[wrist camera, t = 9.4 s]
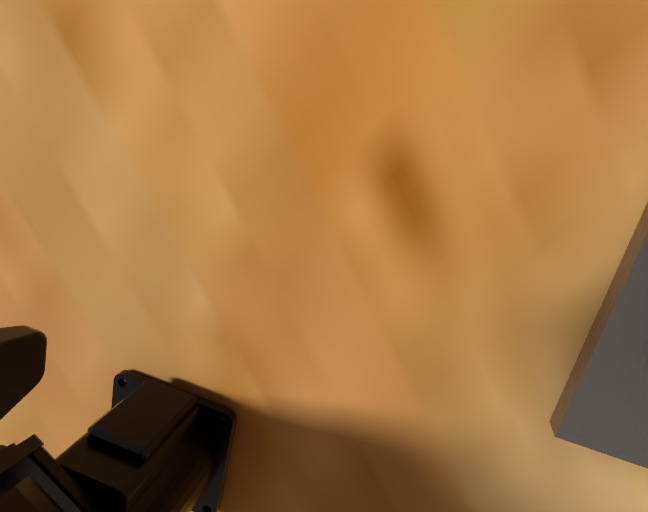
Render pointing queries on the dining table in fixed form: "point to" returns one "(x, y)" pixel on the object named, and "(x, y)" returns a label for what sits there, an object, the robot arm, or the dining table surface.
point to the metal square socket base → (613, 367)
